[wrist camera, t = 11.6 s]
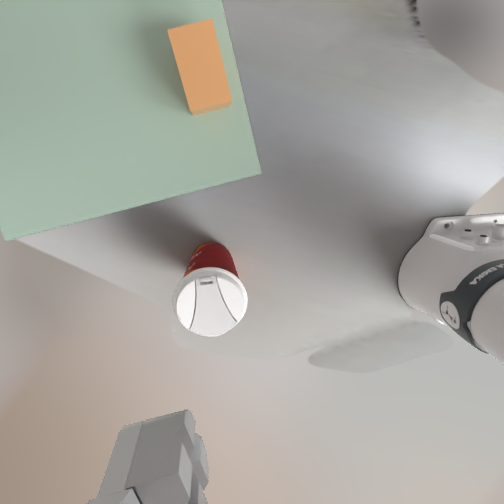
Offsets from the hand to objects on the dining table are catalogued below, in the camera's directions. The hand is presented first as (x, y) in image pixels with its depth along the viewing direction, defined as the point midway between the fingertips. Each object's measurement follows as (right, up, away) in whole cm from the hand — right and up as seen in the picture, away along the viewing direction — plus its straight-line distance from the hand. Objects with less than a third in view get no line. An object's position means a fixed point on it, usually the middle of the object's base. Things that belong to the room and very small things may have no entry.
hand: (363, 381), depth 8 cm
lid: (-15, +15, +19) cm, 28 cm away
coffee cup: (-9, +2, +42) cm, 43 cm away
